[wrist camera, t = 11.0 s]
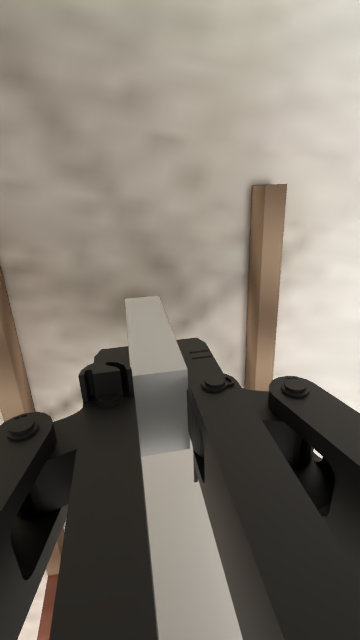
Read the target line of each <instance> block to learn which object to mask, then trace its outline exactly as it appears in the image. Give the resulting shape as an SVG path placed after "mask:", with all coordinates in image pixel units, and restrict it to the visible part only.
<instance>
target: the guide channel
mask: <svg viewBox="0 0 360 640" xmlns="http://www.w3.org/2000/svg"><path fill="white" fill-rule="evenodd" d="M286 191H287V184H277V185H254V186H253V188H252V214H251V240H250V266H249V292H248V318H247V344H246V370H245V389H247V390H257V391H269V384H270V383H271V381H272V380H273V368H274V354H275V340H276V327H277V313H278V300H279V286H280V272H281V259H282V245H283V232H284V218H285V204H286ZM0 409H1V412H2V416H3V419H4V422H6V421H7V420H9V419H11V418H13V417H15V416H18V415H21V414H24V413H30V412H35V409H34V405H33V401H32V397H31V392H30V388H29V384H28V380H27V376H26V372H25V367H24V363H23V359H22V355H21V351H20V347H19V342H18V338H17V334H16V330H15V326H14V322H13V317H12V313H11V309H10V305H9V301H8V297H7V292H6V288H5V284H4V280H3V276H2V271H1V267H0ZM63 540H64V530H63V527H62V530H61V532H60V535H59V537H58V540H57V542H56V545H55V547H54V550H53V552H52V555H51V557H50V560H49V562H48V564H47V567H46V570H47V574H48V580H47V585H46V591H45V597H44V603H43V609H42V614H41V620H40V626H39V632H38V637H37V640H49V636H50V629H51V622H52V615H53V608H54V601H55V595H56V588H57V581H58V574H59V567H60V560H61V553H62V546H63Z"/></svg>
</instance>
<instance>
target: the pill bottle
mask: <svg viewBox="0 0 360 640" xmlns="http://www.w3.org/2000/svg"><path fill="white" fill-rule="evenodd" d="M141 461H142V470H143V480H144V491H145V501H146V511H147V521H148V531H149V542H150V552H151V562H152V572H153V583H154V593H155V603H156V613H157V623H158V634H159V640H243V638H242V635H241V631H240V628H239V624H238V620H237V617H236V613H235V610H234V606H233V602H232V599H231V595H230V592H229V588H228V584H227V581H226V577H225V574H224V570H223V566H222V563H221V559H220V556H219V552H218V548H217V545H216V541H215V538H214V534H213V531H212V527H211V523H210V520H209V516H208V513H207V509H206V505H205V502H204V498H203V495H202V491H201V487H200V484H199V480H198V482H195V483H194V462H193V446H192V442H191V439H190V449H186V450H180V451H174V452H168V453H161V454H155V455H149V456H143V457H141Z"/></svg>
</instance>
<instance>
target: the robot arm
mask: <svg viewBox="0 0 360 640" xmlns="http://www.w3.org/2000/svg"><path fill="white" fill-rule="evenodd" d="M125 308H126V320H127V333H128V345H129V346H128V347H119V348H110V349H101V350H100V351H99V353H98V354H97V355H96V356H95V357H94V363H93V364H90V365H88V366H87V367H85V368H84V369H83V370H81V372H80V374H79V382H80V387H81V393H82V398H83V408H82V409H81V410H80V411H78V412H77V413H75V414H73V415H71V416H69V417H67V418H64V419H61V420H58V421H55V422H52V419H51V417H50V416H49V415H47V414H45V413H40V412H30V413H24V414H21V415H18V416H15V417H13V418H11V419H9V420H7V421H6V422H4V423H3V424H2V425H0V640H17V639H18V636H19V634H20V631H21V629H22V626H23V624H24V621H25V619H26V616H27V614H28V612H29V609H30V607H31V604H32V602H33V599H34V597H35V594H36V592H37V589H38V587H39V584H40V582H41V579H42V577H43V574H44V572H45V569H46V567H47V564H48V562H49V560H50V557H51V555H52V552H53V550H54V547H55V545H56V542H57V540H58V537H59V535H60V532H61V530H62V527H63V525H64V522H65V520H66V526H65V533H64V540H63V546H62V553H61V560H60V567H59V574H58V581H57V588H56V595H55V601H54V608H53V615H52V622H51V629H50V636H49V640H159V634H158V623H157V613H156V603H155V593H154V583H153V572H152V562H151V552H150V542H149V531H148V521H147V511H146V501H145V491H144V480H143V470H142V461H141V457H143V456H149V455H155V454H161V453H168V452H174V451H180V450H186V449H190V439H191V442H192V446H193V462H194V483H195V482H198V480H199V484H200V487H201V491H202V495H203V498H204V502H205V505H206V509H207V513H208V516H209V520H210V523H211V527H212V531H213V534H214V538H215V541H216V545H217V548H218V552H219V556H220V559H221V563H222V566H223V570H224V574H225V577H226V581H227V584H228V588H229V592H230V595H231V599H232V602H233V606H234V610H235V613H236V617H237V620H238V624H239V628H240V631H241V635H242V638H243V640H360V413H358V412H357V411H355V410H354V409H352V408H351V407H349V406H348V405H346V404H345V403H343V402H342V401H340V400H339V399H337V398H336V397H334V396H332V395H331V394H329V393H328V392H326V391H325V390H323V389H322V388H320V387H319V386H317V385H316V384H314V383H313V382H310V381H308V380H306V379H303V378H299V377H296V376H284V377H278V378H276V379H274V380H272V381H271V383H270V384H269V391H257V390H247V389H243V388H241V386H240V385H239V383H238V382H237V381H236V380H235V379H234V378H233V377H231V376H229V375H227V374H223V372H222V370H221V369H220V367H219V365H218V364H217V362H216V360H215V358H214V357H213V355H212V353H211V351H210V350H209V348H208V346H207V344H206V343H205V342H203V341H202V340H200V339H198V338H190V339H181V340H176V339H175V336H174V334H173V331H172V329H171V326H170V323H169V321H168V318H167V316H166V313H165V311H164V308H163V306H162V303H161V301H160V298H159V296H148V297H137V298H127V299H125ZM313 449H315V450H316V451H317V452H319V453H320V454H321V455H322V456H323V459H321V458H320V457H318V456H317V455H316V454H315V453H314V452H313ZM66 517H67V519H66Z"/></svg>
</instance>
